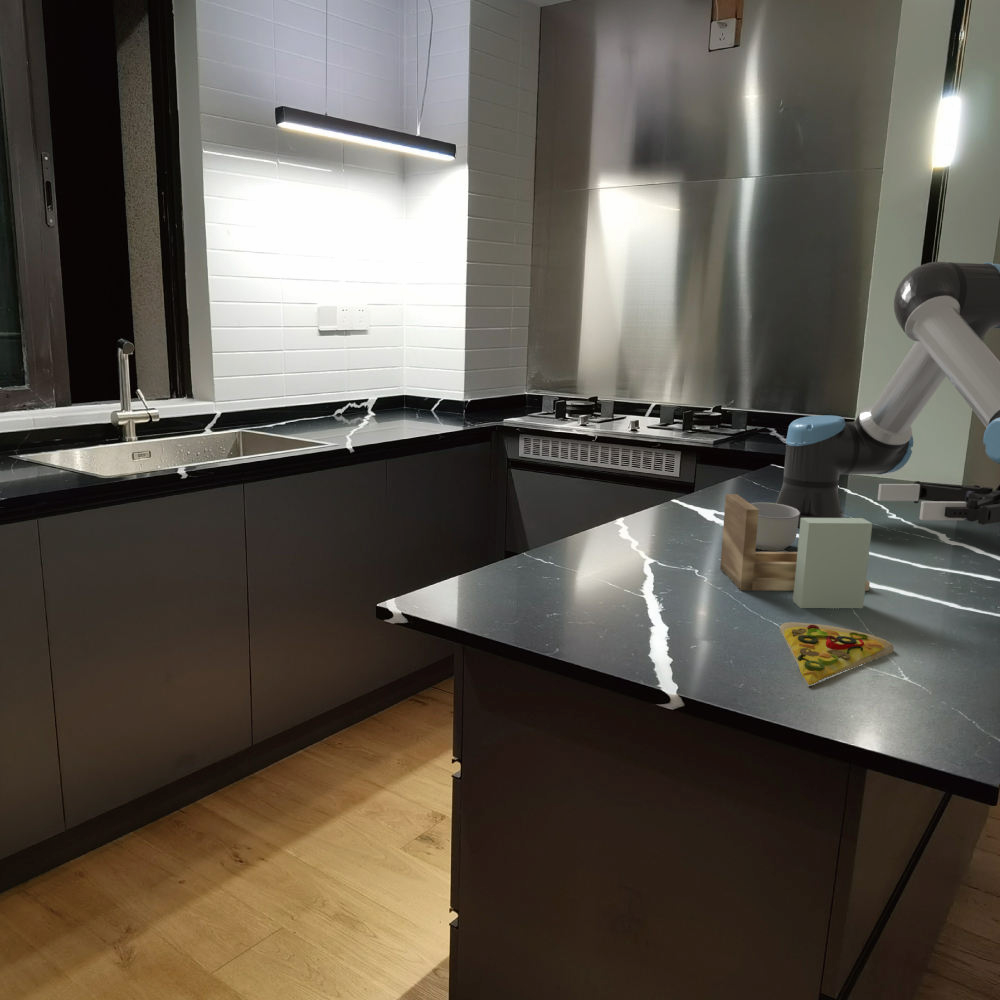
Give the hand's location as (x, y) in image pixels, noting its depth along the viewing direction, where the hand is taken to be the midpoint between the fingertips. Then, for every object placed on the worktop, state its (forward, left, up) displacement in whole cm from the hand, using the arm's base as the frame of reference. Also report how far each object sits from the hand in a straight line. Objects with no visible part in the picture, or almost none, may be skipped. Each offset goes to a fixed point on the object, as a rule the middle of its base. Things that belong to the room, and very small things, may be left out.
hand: (899, 501), depth 136 cm
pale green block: (-3, -9, -17) cm, 20 cm away
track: (-16, -6, -17) cm, 24 cm away
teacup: (-36, +3, -17) cm, 40 cm away
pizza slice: (+14, -26, -18) cm, 35 cm away
